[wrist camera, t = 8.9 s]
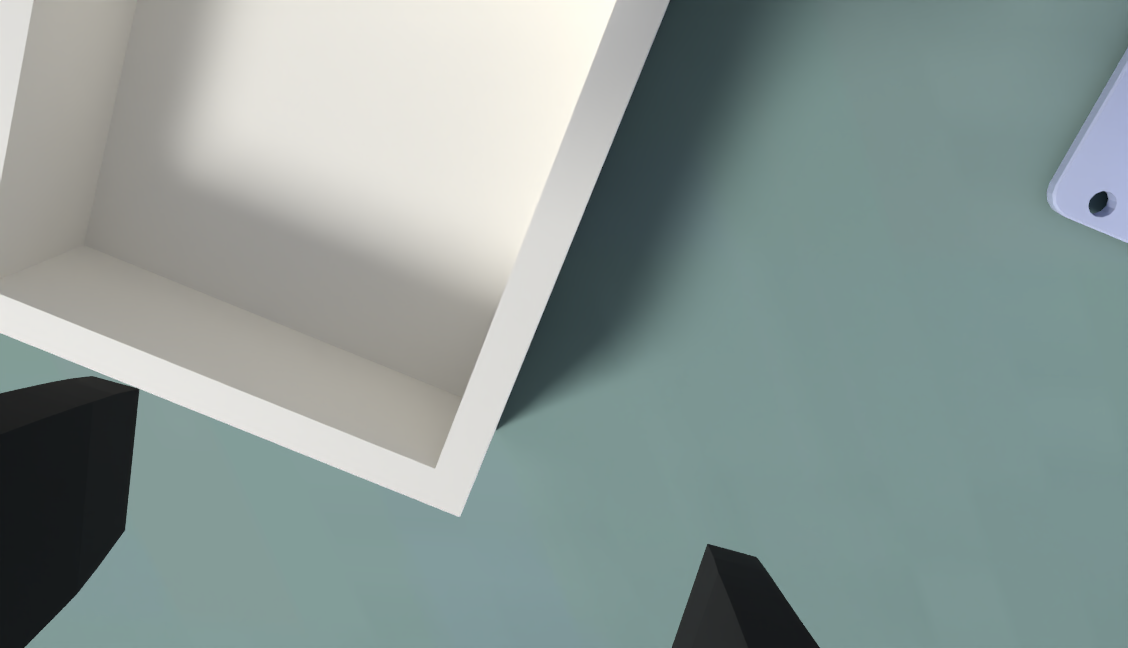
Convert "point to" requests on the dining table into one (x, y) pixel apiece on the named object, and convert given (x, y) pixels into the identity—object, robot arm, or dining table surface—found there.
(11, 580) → the robot arm
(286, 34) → the box
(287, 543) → the dining table surface
